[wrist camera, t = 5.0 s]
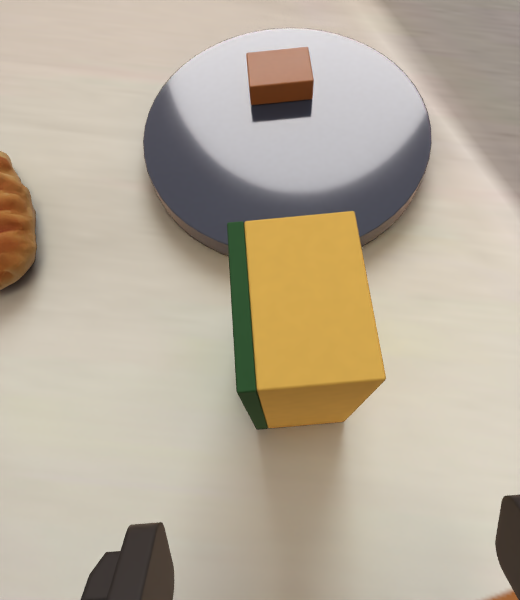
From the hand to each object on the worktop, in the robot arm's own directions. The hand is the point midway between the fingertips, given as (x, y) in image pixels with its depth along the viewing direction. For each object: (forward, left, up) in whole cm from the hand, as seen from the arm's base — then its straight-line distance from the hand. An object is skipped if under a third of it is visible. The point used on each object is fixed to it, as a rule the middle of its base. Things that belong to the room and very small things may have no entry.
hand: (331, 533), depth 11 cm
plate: (+1, +22, -11) cm, 25 cm away
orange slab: (+1, +25, -10) cm, 27 cm away
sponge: (0, +7, -11) cm, 13 cm away
